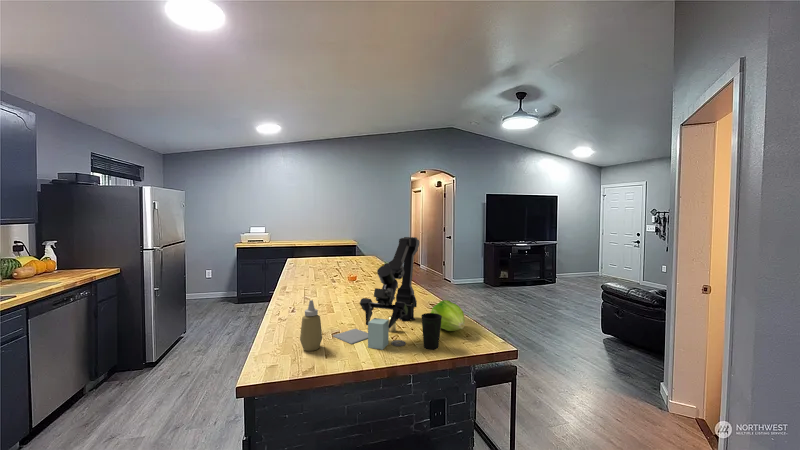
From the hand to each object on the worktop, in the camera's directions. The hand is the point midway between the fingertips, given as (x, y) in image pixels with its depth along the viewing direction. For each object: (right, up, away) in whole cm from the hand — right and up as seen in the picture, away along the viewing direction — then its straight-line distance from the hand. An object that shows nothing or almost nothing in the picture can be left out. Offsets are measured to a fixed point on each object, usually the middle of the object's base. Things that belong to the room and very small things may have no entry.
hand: (377, 326), depth 131 cm
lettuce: (+30, -8, +17) cm, 36 cm away
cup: (+20, -8, 0) cm, 22 cm away
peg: (+5, -7, +17) cm, 19 cm away
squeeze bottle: (-25, -8, -2) cm, 26 cm away
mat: (-11, -7, +10) cm, 17 cm away
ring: (+8, -8, +3) cm, 12 cm away
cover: (0, -8, +1) cm, 8 cm away
